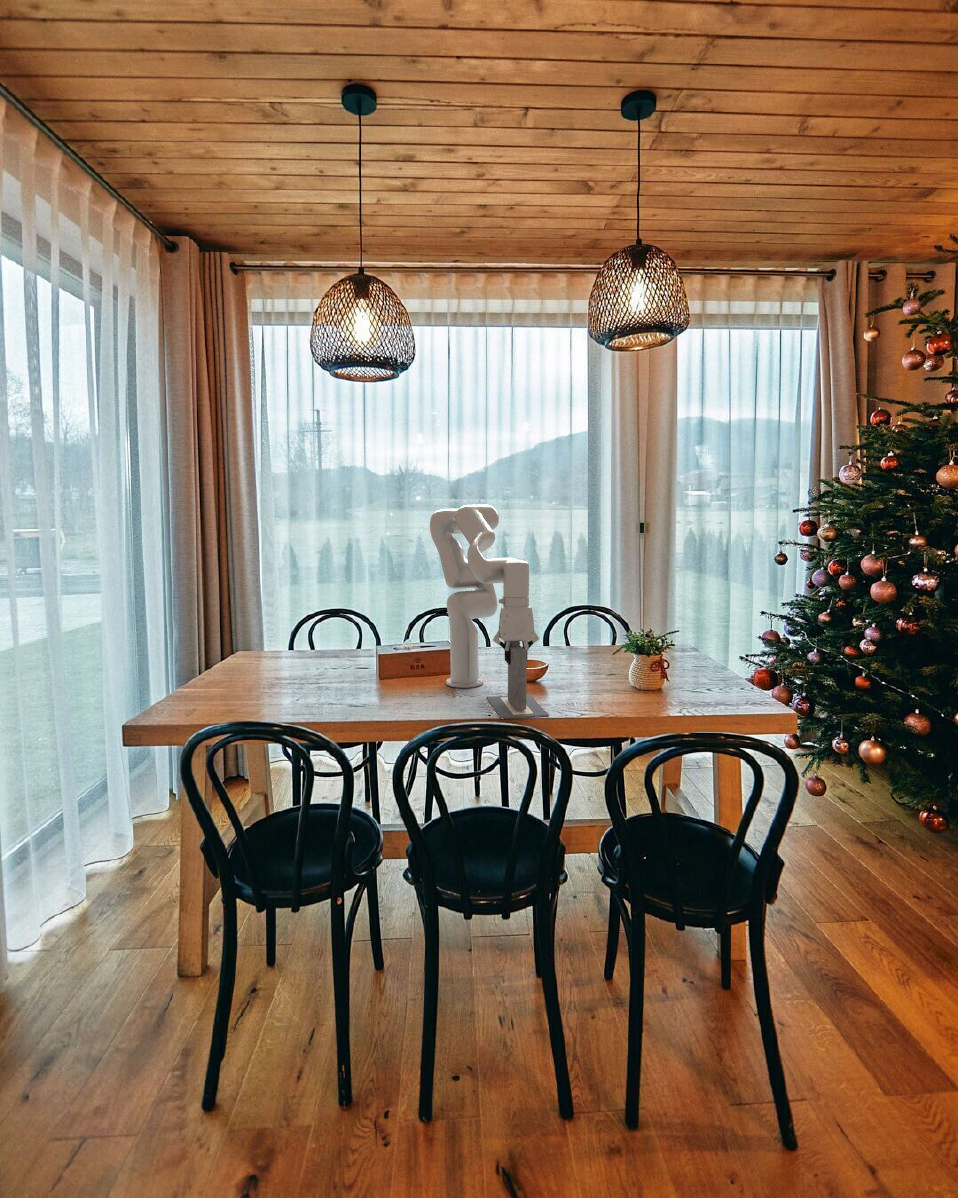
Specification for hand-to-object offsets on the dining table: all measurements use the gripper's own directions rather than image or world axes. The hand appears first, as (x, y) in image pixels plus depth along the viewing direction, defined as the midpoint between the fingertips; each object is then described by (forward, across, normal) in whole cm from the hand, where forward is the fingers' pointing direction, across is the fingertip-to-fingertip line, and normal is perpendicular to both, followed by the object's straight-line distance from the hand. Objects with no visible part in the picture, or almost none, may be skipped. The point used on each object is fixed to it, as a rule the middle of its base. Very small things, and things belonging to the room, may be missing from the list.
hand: (516, 662), depth 206 cm
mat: (+14, 0, 0) cm, 14 cm away
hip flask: (+13, 0, 0) cm, 13 cm away
